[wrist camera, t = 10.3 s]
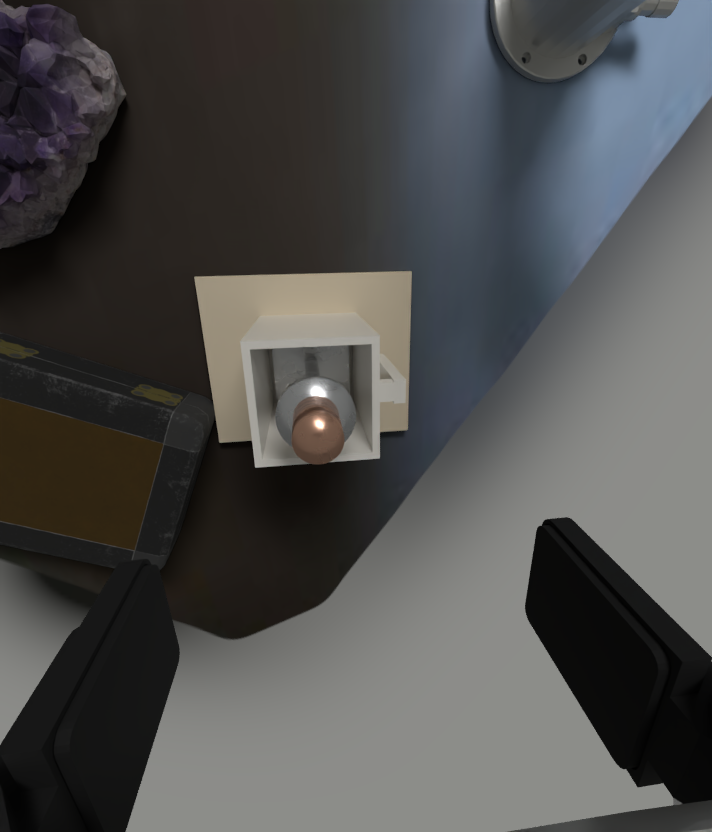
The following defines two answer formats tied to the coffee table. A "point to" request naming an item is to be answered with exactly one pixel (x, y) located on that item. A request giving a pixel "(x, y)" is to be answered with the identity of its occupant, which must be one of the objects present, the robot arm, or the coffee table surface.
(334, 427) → the plunger
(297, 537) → the coffee table surface
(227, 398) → the square white mug
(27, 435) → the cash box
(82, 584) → the coffee table surface
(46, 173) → the geode
